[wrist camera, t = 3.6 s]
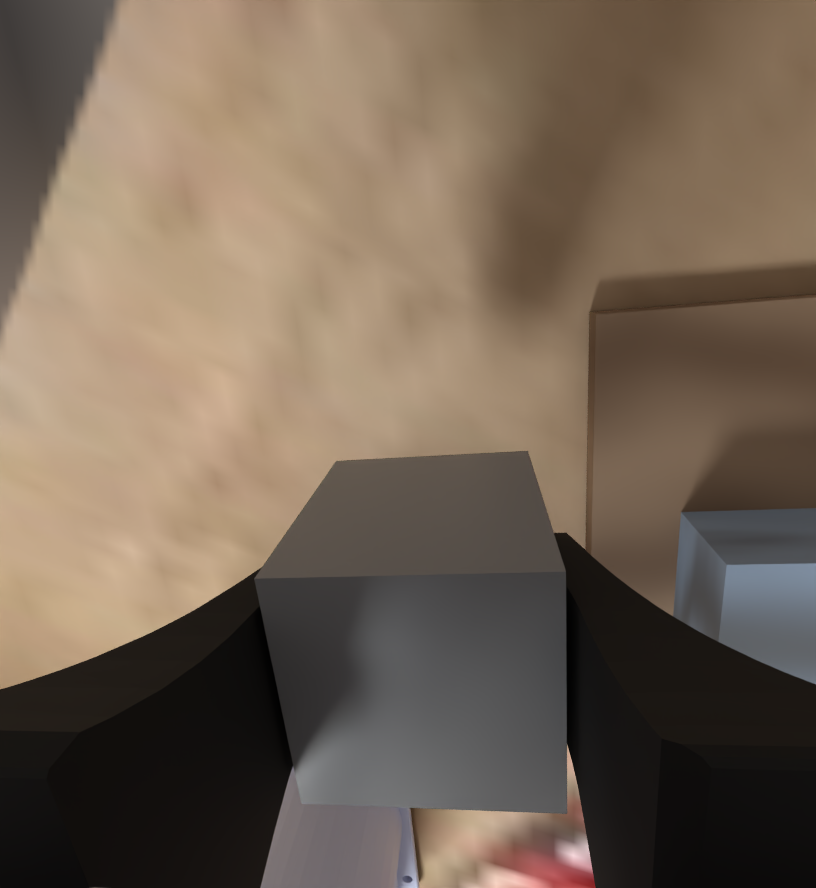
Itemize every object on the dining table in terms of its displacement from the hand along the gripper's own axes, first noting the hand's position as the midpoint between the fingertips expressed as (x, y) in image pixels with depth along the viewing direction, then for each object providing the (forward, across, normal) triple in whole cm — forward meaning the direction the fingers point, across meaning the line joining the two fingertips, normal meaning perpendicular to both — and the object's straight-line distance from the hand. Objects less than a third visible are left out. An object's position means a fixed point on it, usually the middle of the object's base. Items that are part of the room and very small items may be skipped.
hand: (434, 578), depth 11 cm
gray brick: (+2, 0, 0) cm, 2 cm away
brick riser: (+9, -11, +6) cm, 15 cm away
